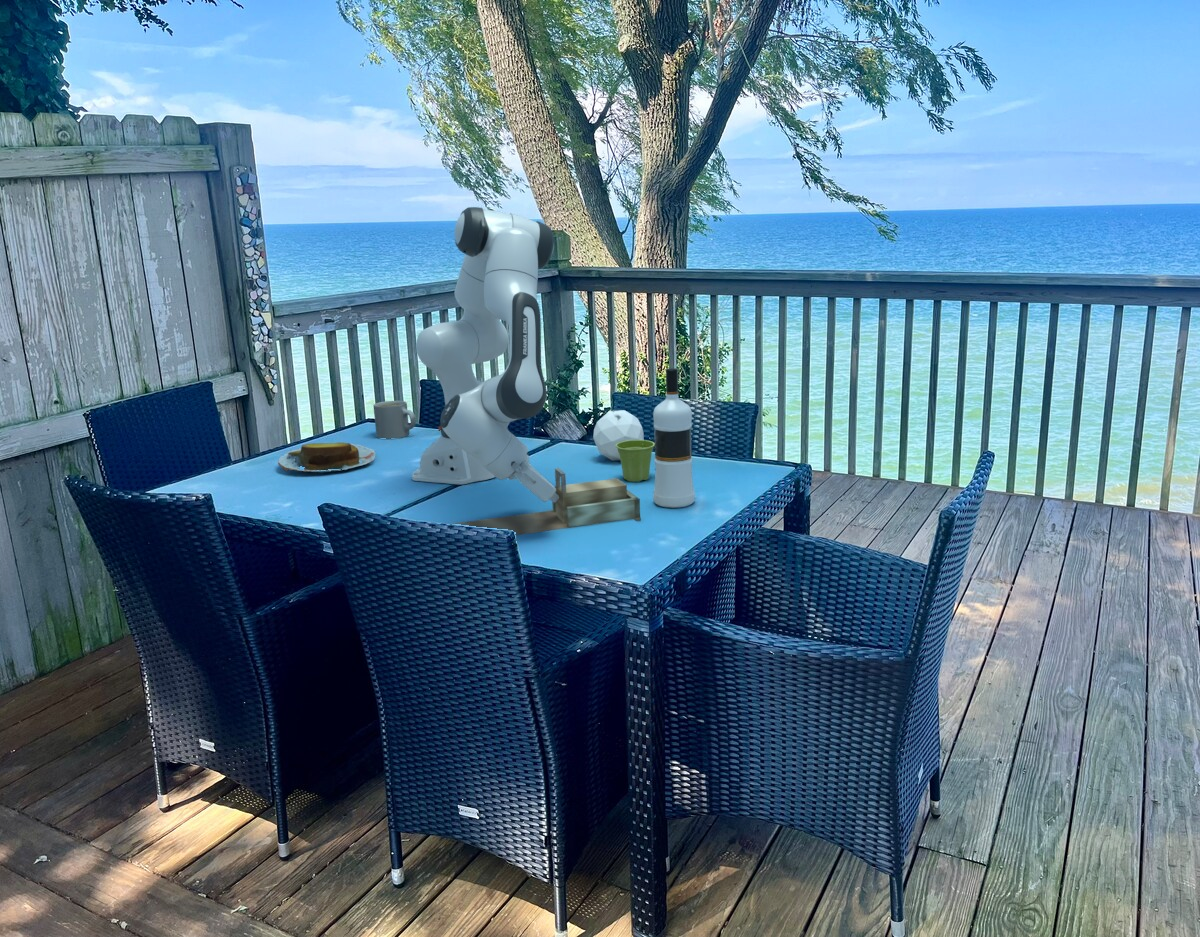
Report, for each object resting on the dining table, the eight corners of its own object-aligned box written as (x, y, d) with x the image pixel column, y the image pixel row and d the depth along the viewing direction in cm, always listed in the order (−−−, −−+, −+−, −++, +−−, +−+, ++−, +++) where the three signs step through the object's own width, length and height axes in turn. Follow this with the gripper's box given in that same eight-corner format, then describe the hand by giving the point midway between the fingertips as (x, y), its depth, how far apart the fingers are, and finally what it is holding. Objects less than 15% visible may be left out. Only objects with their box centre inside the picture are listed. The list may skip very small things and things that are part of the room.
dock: (462, 545, 183) (460, 523, 182) (451, 526, 195) (449, 505, 194) (640, 520, 194) (640, 499, 193) (619, 503, 206) (619, 483, 205)
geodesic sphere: (655, 444, 236) (644, 396, 241) (603, 449, 233) (593, 400, 238) (643, 466, 249) (633, 420, 254) (593, 471, 246) (584, 425, 251)
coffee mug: (369, 437, 283) (366, 405, 281) (394, 431, 291) (391, 399, 289) (399, 441, 276) (396, 408, 273) (424, 435, 284) (421, 403, 281)
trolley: (565, 524, 192) (562, 475, 189) (555, 514, 199) (552, 467, 196) (628, 515, 196) (627, 467, 193) (616, 506, 203) (615, 459, 200)
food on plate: (369, 449, 269) (367, 427, 267) (385, 469, 246) (382, 445, 244) (275, 461, 259) (272, 437, 257) (282, 482, 236) (279, 457, 234)
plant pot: (652, 484, 221) (651, 449, 218) (613, 483, 223) (612, 448, 220) (658, 474, 230) (657, 440, 227) (620, 473, 231) (619, 439, 229)
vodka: (675, 511, 199) (673, 373, 192) (644, 503, 206) (641, 369, 198) (703, 501, 205) (702, 367, 198) (672, 494, 212) (670, 363, 204)
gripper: (529, 457, 179) (580, 499, 185) (506, 436, 198) (552, 475, 203) (508, 482, 179) (559, 523, 184) (487, 459, 198) (533, 497, 203)
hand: (555, 498), depth 194 cm, fingers closed, pressing on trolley
